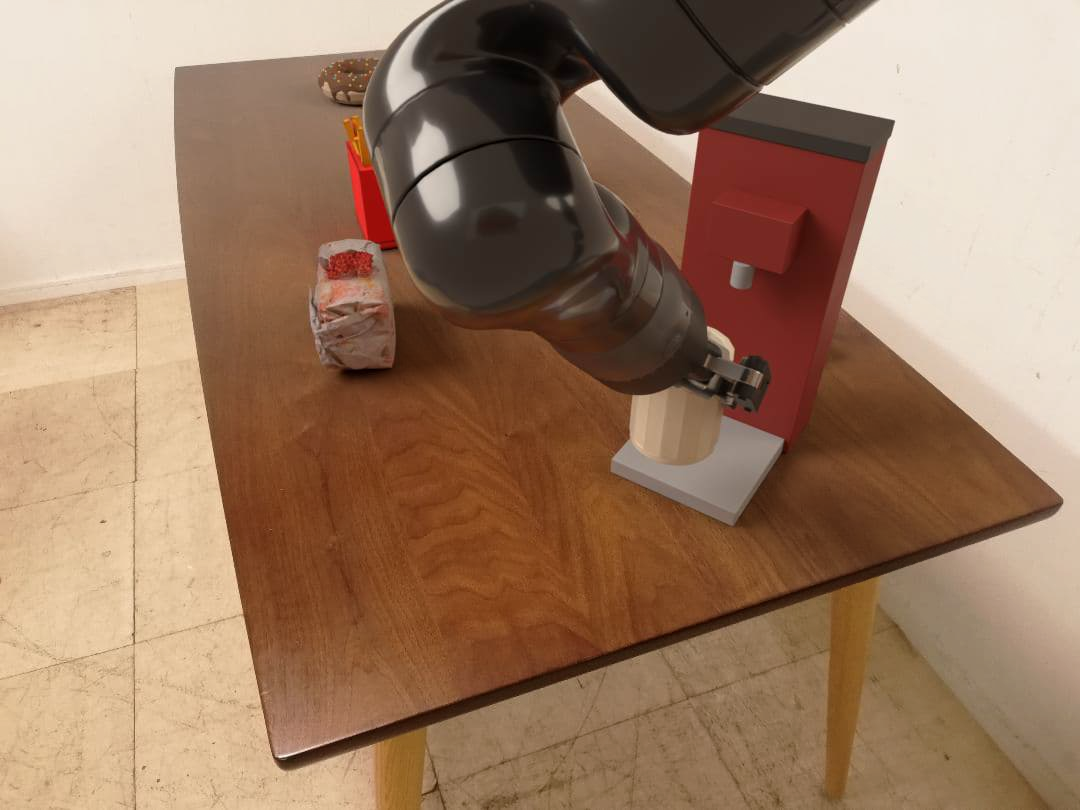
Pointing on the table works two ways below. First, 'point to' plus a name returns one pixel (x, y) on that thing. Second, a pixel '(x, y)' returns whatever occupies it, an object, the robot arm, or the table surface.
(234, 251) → the table surface
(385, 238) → the french fries container
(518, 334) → the table surface
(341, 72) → the donut
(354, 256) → the food item
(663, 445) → the cream cup
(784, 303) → the coffee maker
